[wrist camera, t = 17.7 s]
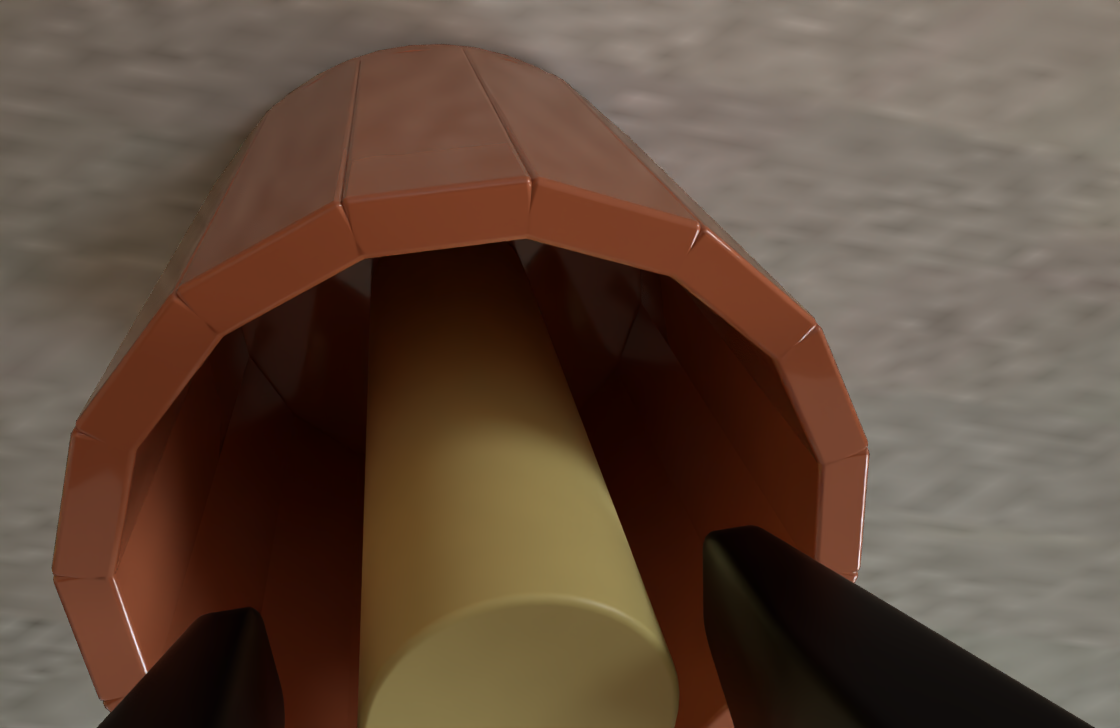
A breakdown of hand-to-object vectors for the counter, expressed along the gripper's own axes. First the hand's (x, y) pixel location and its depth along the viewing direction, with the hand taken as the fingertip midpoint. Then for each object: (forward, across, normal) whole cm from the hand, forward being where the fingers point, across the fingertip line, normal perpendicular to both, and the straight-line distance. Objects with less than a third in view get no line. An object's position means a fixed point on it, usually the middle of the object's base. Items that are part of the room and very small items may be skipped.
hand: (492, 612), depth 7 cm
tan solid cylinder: (+7, 0, 0) cm, 7 cm away
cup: (+8, 0, 0) cm, 8 cm away
